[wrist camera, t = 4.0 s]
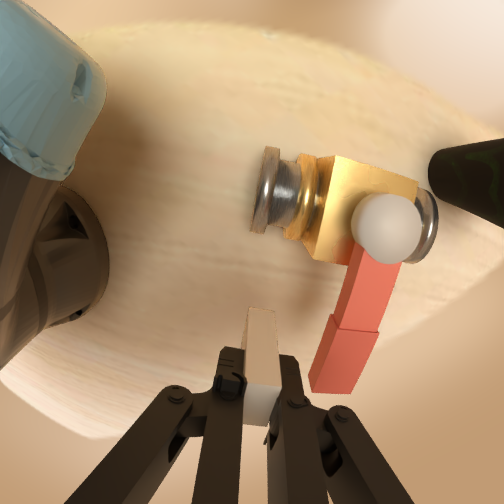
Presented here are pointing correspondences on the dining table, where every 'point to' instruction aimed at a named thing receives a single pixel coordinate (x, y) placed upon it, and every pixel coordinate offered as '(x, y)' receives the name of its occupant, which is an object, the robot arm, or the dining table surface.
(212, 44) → the dining table surface
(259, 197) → the valve body
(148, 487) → the robot arm
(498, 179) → the cup
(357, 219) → the lever
